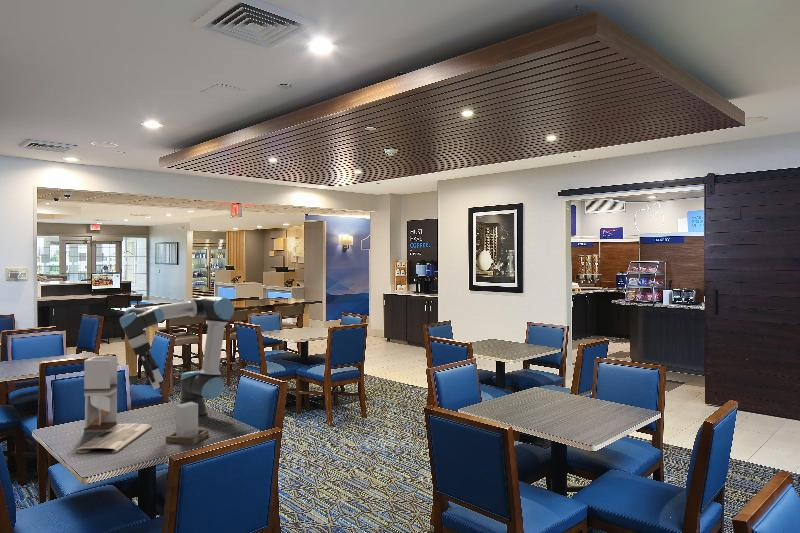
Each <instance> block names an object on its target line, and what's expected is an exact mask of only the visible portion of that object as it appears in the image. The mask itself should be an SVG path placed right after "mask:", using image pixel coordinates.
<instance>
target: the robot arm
mask: <svg viewBox="0 0 800 533" xmlns="http://www.w3.org/2000/svg"><path fill="white" fill-rule="evenodd" d="M234 313H235V305H234V303H233V301H232V300H231V299H229V298H228V297H224V296H209V295H207V296H201V297H196V298H191V299H188V300H187V301H184V302H174V303H169V304H160V305H151V306H145V307H132V308H131V307H130V308H128V309H127V310H126V311H125V312H124V314H123V315H122V316H120V318H119V323H120V326H121V328H122V329H123V332H124V333H125V336H126V338H127V340H128V344H129V345H130V346H131V348H132V352H133V354H134V355H135V356H139V355H140V357H139V360H140V361H141V364H142V367H143V370H144V372H145V378H146V379H148V380H149V382H150V384H151V386H152V389H153V390H154V391H155V390H157V389H159V388H161V386H160V384H159V383H161V382H163V381H164V378H163V376H162V375H161V372H160V370H159V368H160V366H159V365H158V364H157V361H156V360H155V359H154V357H153V355H152V353H151V351H150V350H152V347H151V344H150V343H149V341H148V337H147V335H146V333H145V331H144V330H146V329H148V328H150V327H153V326H154V325H157V324H159V323H161V322H162V321H163V320H169V319H175V318H181V317H188V316H189V317H191V318H194V317H202V318H205V322H206V323H207V331H206V338H205V344H204V352H203V358H202V367H201V369H200V370H192V371H186V372H182V373H181V376H180V402H179V404H184V403H188V402H194V403H197V404H198V417H201V416H204V415H206V414H207V412H208V409H207V405H206V402H205V400H215V399H217V398H218V397H219V396H221V394H222V393H223V391H224V389H225V388H224V387H225V383H224V381H223V379H222V373H221V371H220V370H219V369H220V363H221V355H222V354H221V353H222V348H223V341H224V335H225V334H224V333H225V327H226V326H227V325H228V324H229V320H230V319H231V318H232V317H233V316H234Z"/></svg>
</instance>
